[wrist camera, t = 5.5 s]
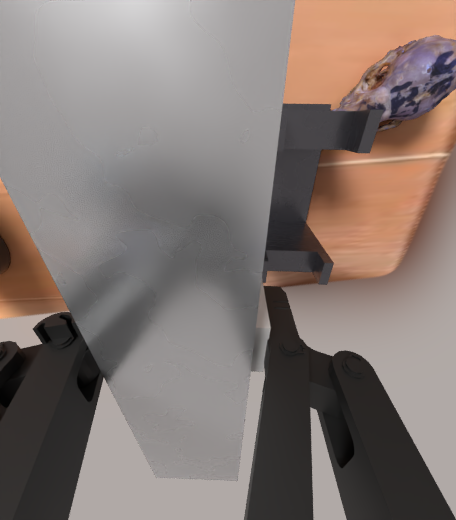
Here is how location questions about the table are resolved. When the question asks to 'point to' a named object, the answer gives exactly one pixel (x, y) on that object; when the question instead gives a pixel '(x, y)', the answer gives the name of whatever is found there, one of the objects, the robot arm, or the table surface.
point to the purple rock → (406, 81)
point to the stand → (308, 181)
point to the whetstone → (152, 197)
